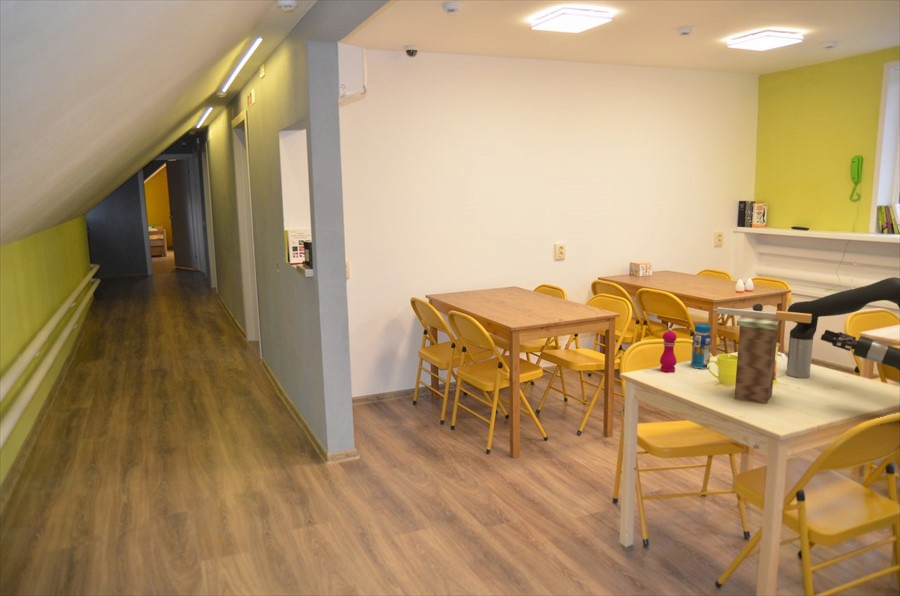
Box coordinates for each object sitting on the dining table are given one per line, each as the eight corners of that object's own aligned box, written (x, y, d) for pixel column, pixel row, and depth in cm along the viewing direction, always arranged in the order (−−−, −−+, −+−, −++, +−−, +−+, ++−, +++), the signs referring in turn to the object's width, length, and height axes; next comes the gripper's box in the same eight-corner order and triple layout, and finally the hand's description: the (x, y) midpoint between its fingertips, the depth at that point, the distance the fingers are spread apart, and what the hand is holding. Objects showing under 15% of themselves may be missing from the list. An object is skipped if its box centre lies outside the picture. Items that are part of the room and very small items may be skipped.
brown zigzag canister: (775, 394, 267) (781, 317, 261) (769, 405, 255) (776, 324, 249) (738, 388, 275) (743, 313, 269) (731, 398, 262) (737, 320, 256)
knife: (811, 321, 253) (811, 314, 253) (810, 323, 251) (811, 315, 250) (713, 312, 273) (714, 304, 272) (712, 313, 270) (712, 306, 270)
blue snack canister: (688, 364, 310) (690, 323, 307) (706, 364, 310) (708, 323, 306) (693, 369, 302) (696, 327, 298) (712, 369, 302) (715, 327, 298)
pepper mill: (661, 373, 297) (664, 329, 293) (657, 368, 304) (659, 326, 300) (678, 373, 297) (680, 329, 293) (673, 368, 304) (675, 326, 300)
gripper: (876, 336, 246) (828, 321, 255) (873, 344, 235) (823, 329, 243) (868, 354, 249) (822, 339, 257) (865, 363, 237) (816, 347, 246)
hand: (822, 334), depth 250 cm, fingers open, 8 cm apart
